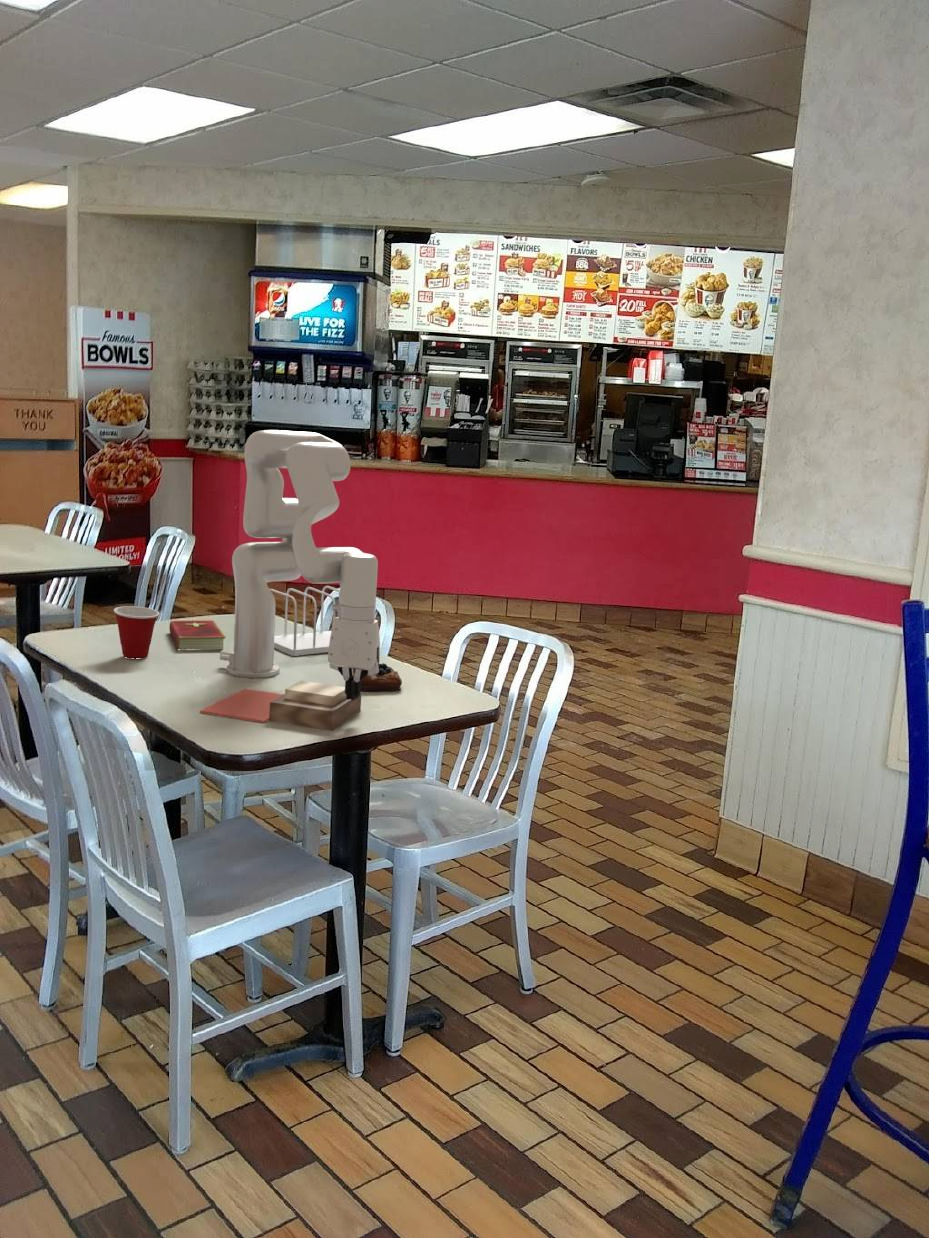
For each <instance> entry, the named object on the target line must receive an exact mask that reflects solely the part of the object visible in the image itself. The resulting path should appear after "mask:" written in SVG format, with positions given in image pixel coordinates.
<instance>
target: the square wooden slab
mask: <svg viewBox="0 0 929 1238" xmlns="http://www.w3.org/2000/svg"><path fill="white" fill-rule="evenodd" d="M361 708H362V693H361V694H360V696H359V697H358V698H357V699H355V700H351V699H349V700H348V699H346V698H345V699H343V700H342V701H340V702H339V703H337V704H335V705H334V706H332V705H325V704H318V703H312V702H305V701H299V700H292V699H286V698H285V693H284V695H282V696H280V697H278V698H276V699H274V700H273V701H271V702H270V712H269V721H271V722H276V723H282V722H283V723H282V724H288V723H289V725H293V726H294V725H295V726H300V727H301V726H302V727H308V728H312V729H313V728H314V729H320V730H327V731H333V730H335V729H336V728H337V727H339V726H340V725H342V724H343V723H345V722H346V721H348V720H350V719H351V718H352V717H354V716H355V715H357V714H359V713H360V712H361V711H362V710H361ZM356 713H357V714H356ZM353 715H354V716H353ZM269 721H268V722H269Z"/></svg>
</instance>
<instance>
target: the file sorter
mask: <svg viewBox="0 0 929 1238" xmlns="http://www.w3.org/2000/svg"><path fill="white" fill-rule="evenodd" d="M269 589H270V591H271V592H272V593H275V594H278V595H280V596H284V597H285V603H284V604H285V607H284V609H285V610H284V628H283V629H284V634H281V635H274V650H275V649H276V650H278V651H280V652H282V653H285V654H288V655H289V656H291V657H300V655H301V656H306V655H316V654H325V653H328V652H329V643H330V636H331V631H332V630H324V629H323V628H324V607H325V606H324V602H325V601H324V600H325V599H324V598H325V596H327V597H329V598H330V599H331V601H332V606H333V605H337V604H336V600H335V597H334V596H333V595H332V594H329V593H327V592H325V590H327V589H329V590H332V591H335V592H337V593H338V598H339V597H340V588H335V587H333V586H330V585H325V586H323V588H322V590H319V589H317V588H314V587H311V586H307V587H306V588H305V589H304V592H302V591H301V590H298V589H295V588H291V587H290V588H287V590H286V592H285V593H284V592H282V591H278V590H276V589H273V588H269ZM308 590H311V591H314V592H317V593H319V594H321V598H320V599H321V600H320V601H321V602H320V630H319V631H317V611H318V608H317V607H318V605H317V602H316V598H315V597H314V596H313V595H312V594H311V595H310V594H308ZM290 592H294V593H296V594H299V595H302V596H303V605H302V606H303V608H302V609H303V611H302V613H303V614H302V632H301V633H297V627H298V624H297V623H298V620H297V619H298V603H297V601H296V598H295V597H294V596H293V595H290ZM289 598H290V599H291V600H292V601H293V606H294V609H293V610H294V611H293V613H294V614H293V617H294V618H293V619H294V621H293V633H291V634H287V633H288V632H287V631H288V606H289V604H288V603H289ZM307 598H309V599H311V600H312V601H313V606H314V608H313V609H314V610H313V632H306V614H307V613H306V610H307V609H306V608H307V607H306V606H307ZM337 617H339V616H338V615H337ZM334 618H336V611H333V610H332V624H331V625H332V626H333V622H334Z"/></svg>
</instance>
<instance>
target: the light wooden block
mask: <svg viewBox="0 0 929 1238" xmlns="http://www.w3.org/2000/svg"><path fill="white" fill-rule="evenodd" d="M284 694H285V698H286V699H292V700H299V701H305V702H312V703H318V704H325V705H332V706H334V705H335V704H337V703H339V702H340V701H342V700H343V699H345V698H346V694H345V686H339V685H333V684H326V683H319V682H312V681H308V680H306V681H305V680H300V681H298V682H296V683H294V684H292V685H291V686H289V687H286V688H285V690H284Z"/></svg>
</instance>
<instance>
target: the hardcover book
mask: <svg viewBox="0 0 929 1238" xmlns="http://www.w3.org/2000/svg"><path fill="white" fill-rule="evenodd" d="M169 633H171V634H172V636H171V638H172V637H173V638H172V640H173V639H174V640H173V642H174V641H175V642H174V644H175V643H176V644H175V646H176V645H177V647H176V649H177V648H178V649H223V650H224V640H225V639H226V635H225V634H224V633H223V631H222V630H221V628H220V626H218V623H216V621H215V620H214V619H213V620H212V619H211V620H209V619H208V620H204V619H203V620H202V619H201V620H170V623H169ZM171 634H170V635H171ZM178 649H177V650H178Z"/></svg>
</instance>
